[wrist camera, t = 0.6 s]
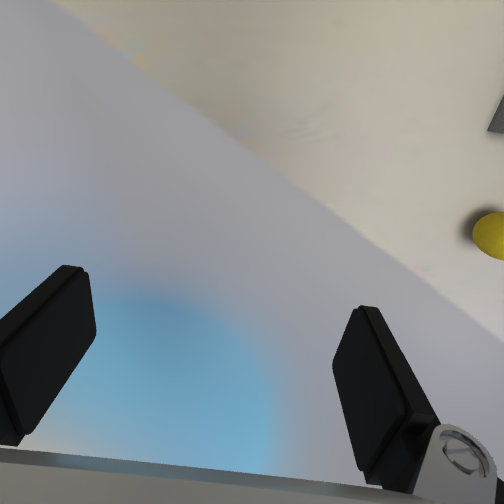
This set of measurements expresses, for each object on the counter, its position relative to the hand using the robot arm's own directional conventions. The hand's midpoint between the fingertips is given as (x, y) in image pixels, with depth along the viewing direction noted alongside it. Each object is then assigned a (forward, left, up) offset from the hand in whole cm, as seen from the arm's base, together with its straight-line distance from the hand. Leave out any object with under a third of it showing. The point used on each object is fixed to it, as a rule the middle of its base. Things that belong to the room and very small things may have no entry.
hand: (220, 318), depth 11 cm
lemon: (+4, +32, -30) cm, 44 cm away
